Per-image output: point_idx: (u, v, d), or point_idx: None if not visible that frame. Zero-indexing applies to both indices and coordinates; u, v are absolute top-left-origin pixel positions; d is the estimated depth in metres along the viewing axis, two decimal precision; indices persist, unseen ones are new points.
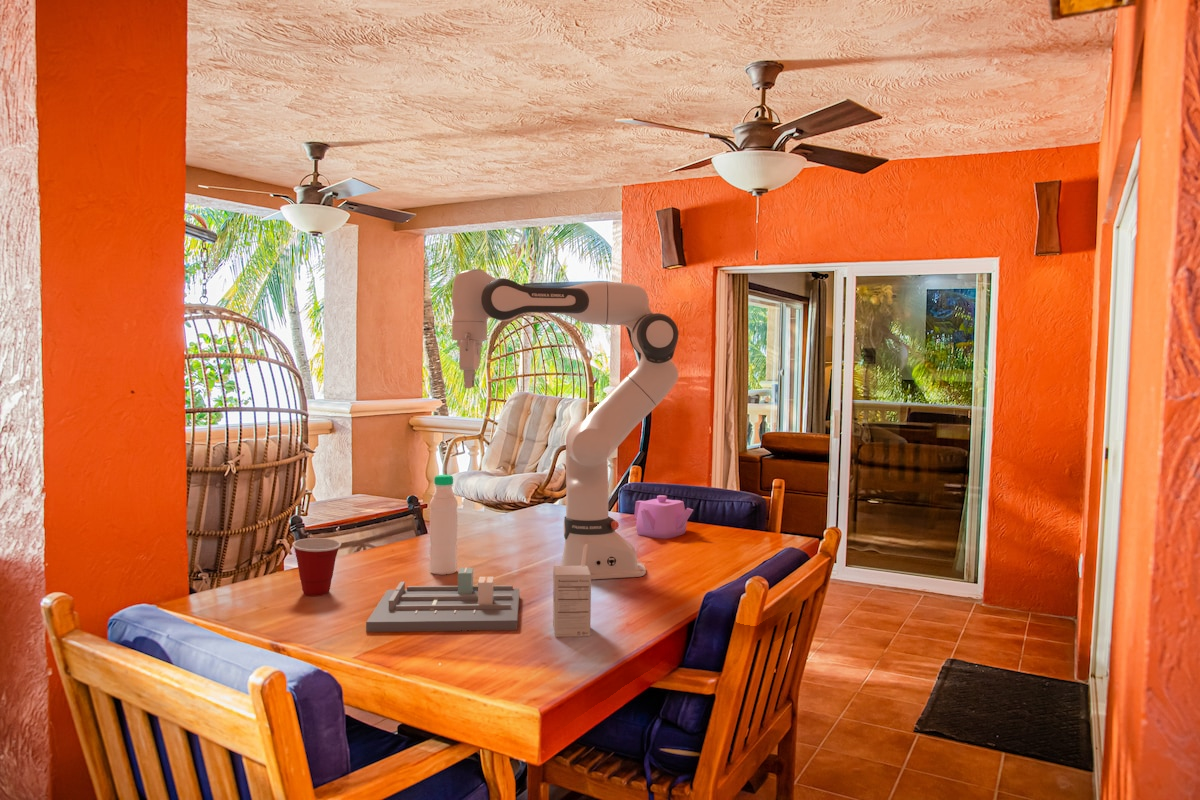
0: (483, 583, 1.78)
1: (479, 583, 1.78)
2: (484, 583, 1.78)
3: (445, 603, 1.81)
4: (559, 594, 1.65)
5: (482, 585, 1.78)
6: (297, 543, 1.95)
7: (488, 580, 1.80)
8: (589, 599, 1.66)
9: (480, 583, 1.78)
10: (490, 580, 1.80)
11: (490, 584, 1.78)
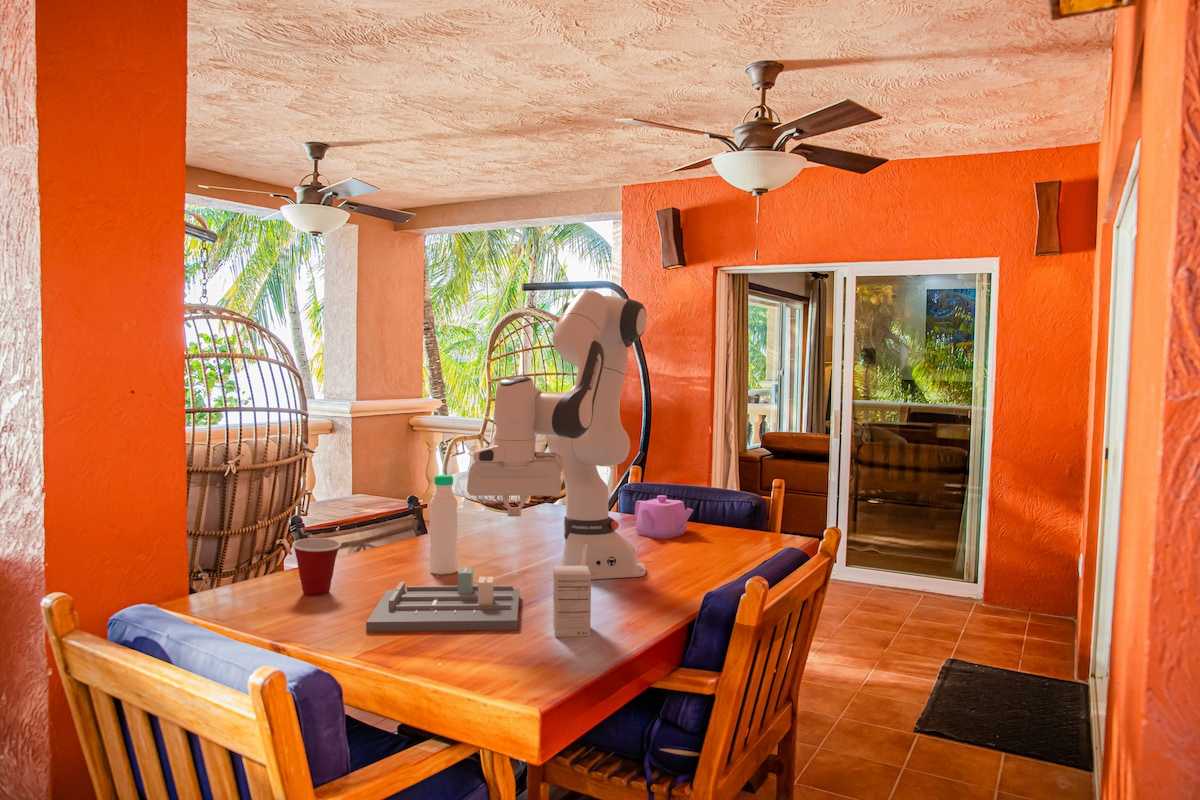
0: (483, 583, 1.78)
1: (479, 583, 1.78)
2: (484, 583, 1.78)
3: (445, 603, 1.81)
4: (559, 594, 1.65)
5: (482, 585, 1.78)
6: (297, 543, 1.95)
7: (488, 580, 1.80)
8: (589, 599, 1.66)
9: (480, 583, 1.78)
10: (490, 580, 1.80)
11: (490, 584, 1.78)
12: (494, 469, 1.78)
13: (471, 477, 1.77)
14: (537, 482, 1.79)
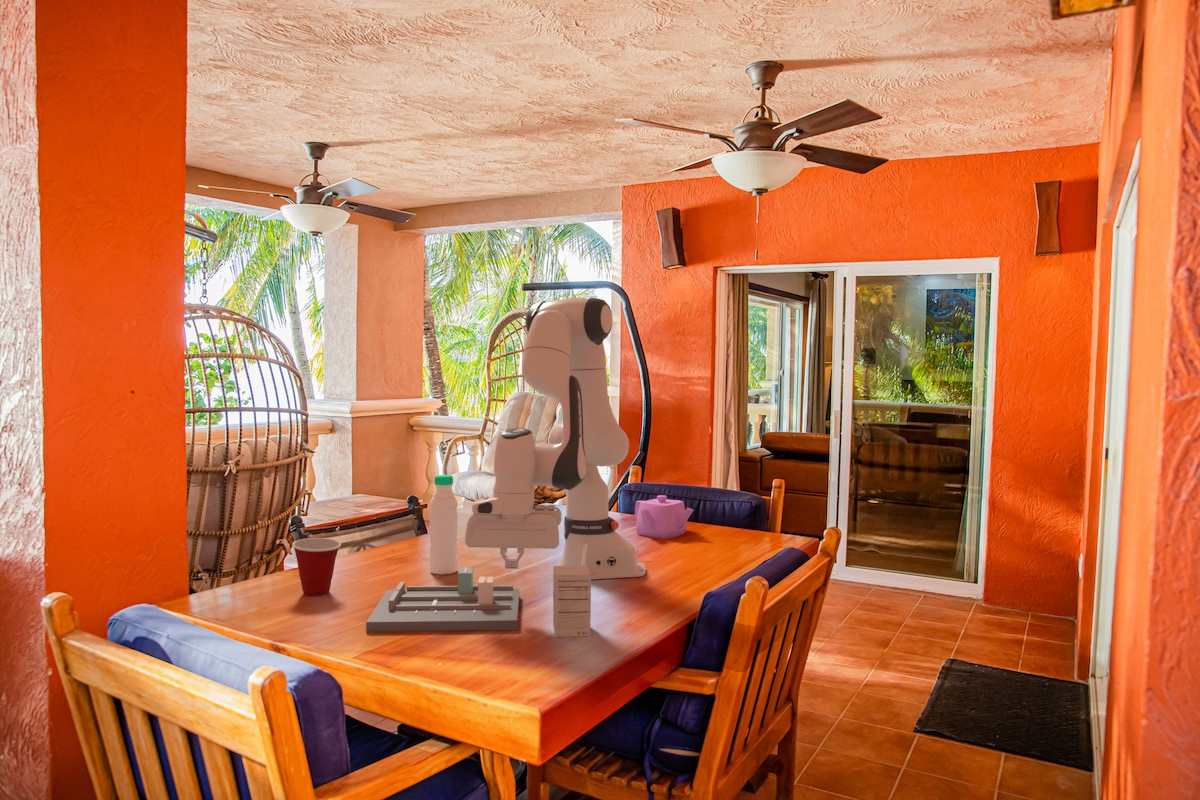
0: (483, 583, 1.78)
1: (479, 583, 1.78)
2: (484, 583, 1.78)
3: (445, 603, 1.81)
4: (559, 595, 1.65)
5: (482, 585, 1.78)
6: (297, 543, 1.95)
7: (488, 580, 1.80)
8: (589, 599, 1.66)
9: (480, 583, 1.78)
10: (490, 580, 1.80)
11: (490, 584, 1.78)
12: (492, 521, 1.78)
13: (469, 529, 1.78)
14: (535, 535, 1.79)
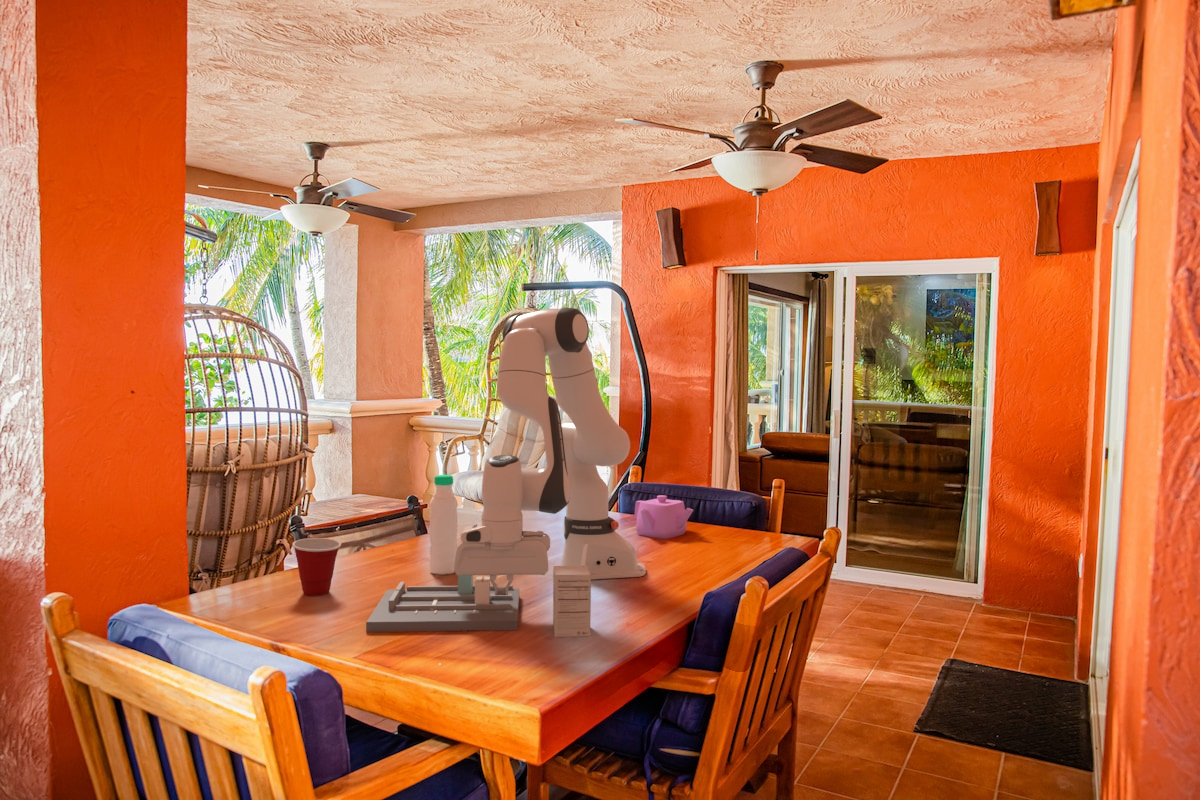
0: (480, 583, 1.78)
1: (476, 583, 1.78)
2: (481, 583, 1.78)
3: (445, 603, 1.81)
4: (559, 595, 1.65)
5: (479, 585, 1.78)
6: (297, 543, 1.95)
7: (485, 580, 1.80)
8: (589, 599, 1.66)
9: (477, 583, 1.78)
10: (487, 580, 1.80)
11: (487, 584, 1.78)
12: (481, 549, 1.78)
13: (458, 557, 1.78)
14: (524, 562, 1.79)
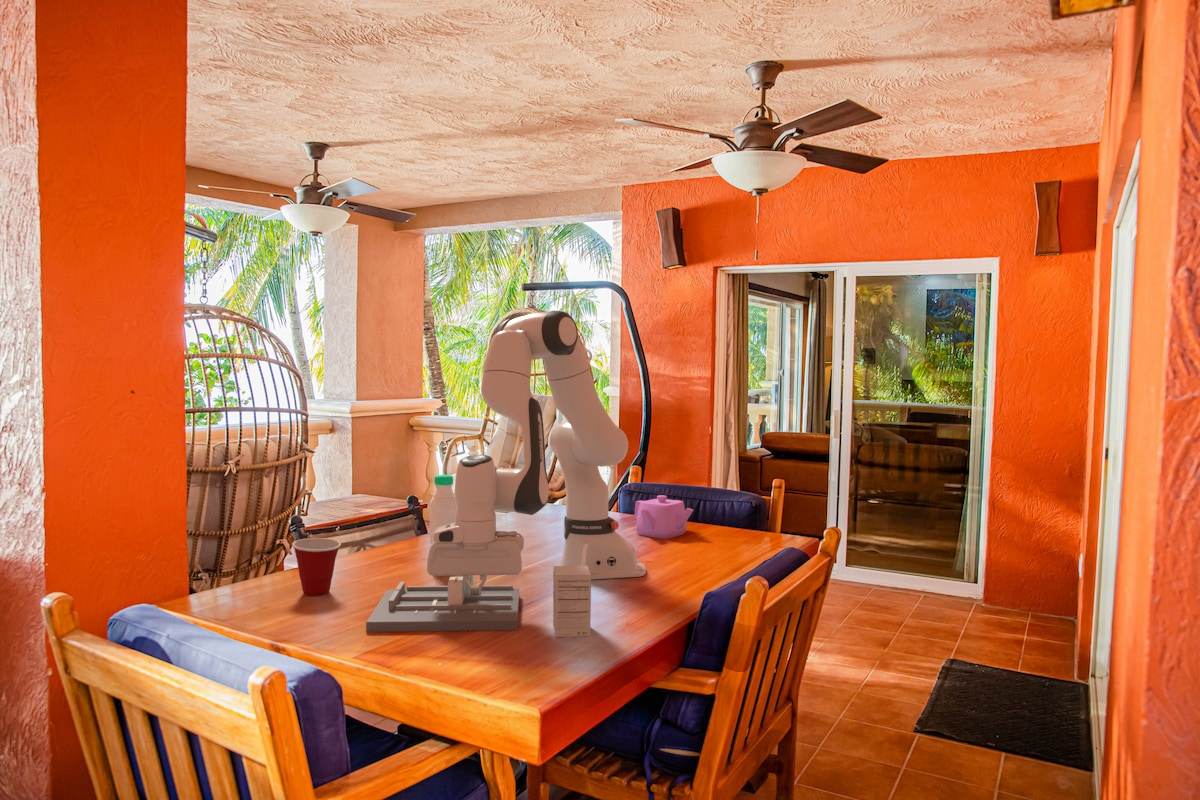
0: (453, 583, 1.78)
1: (449, 583, 1.78)
2: (454, 583, 1.78)
3: (445, 603, 1.81)
4: (559, 595, 1.65)
5: (452, 585, 1.78)
6: (297, 543, 1.95)
7: (458, 580, 1.80)
8: (589, 599, 1.66)
9: (450, 583, 1.78)
10: (460, 580, 1.80)
11: (460, 584, 1.78)
12: (454, 549, 1.78)
13: (431, 557, 1.77)
14: (497, 562, 1.79)
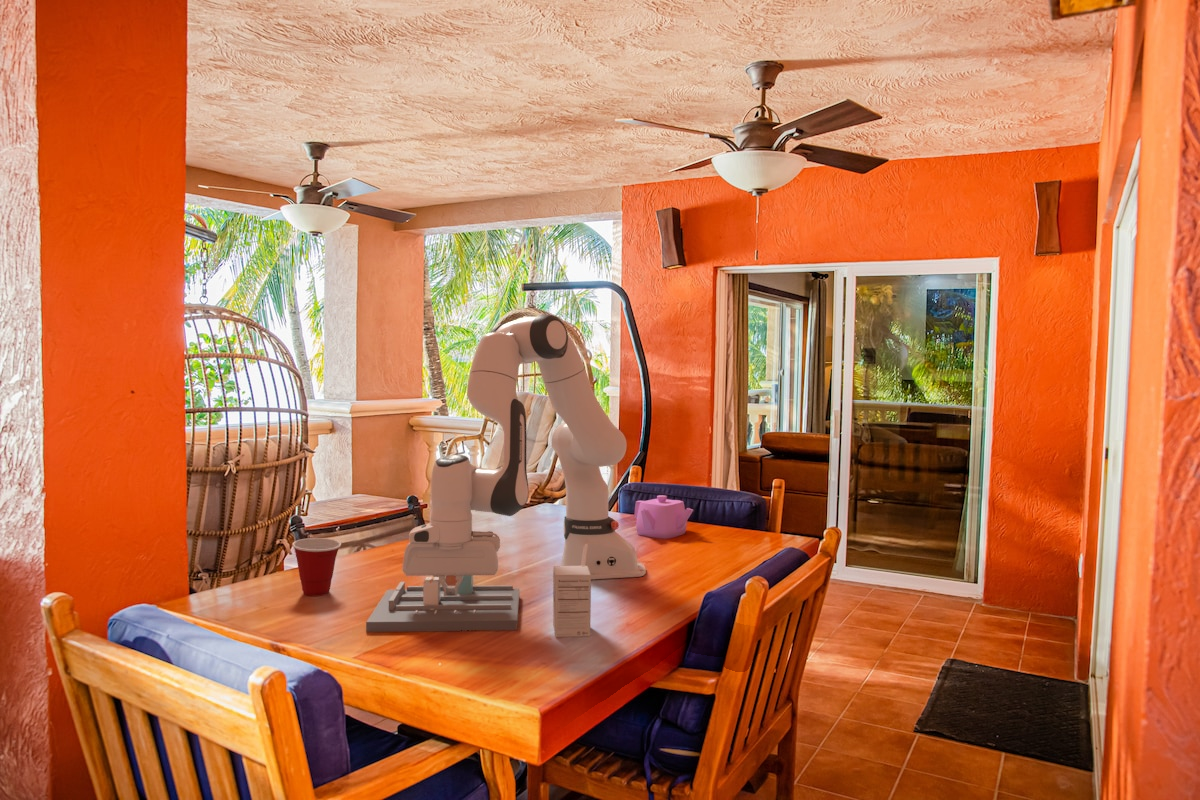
0: (428, 583, 1.78)
1: (424, 583, 1.77)
2: (429, 583, 1.78)
3: (445, 603, 1.81)
4: (559, 595, 1.65)
5: (427, 585, 1.77)
6: (297, 543, 1.95)
7: (434, 580, 1.79)
8: (589, 599, 1.66)
9: (425, 583, 1.77)
10: (436, 580, 1.79)
11: (435, 584, 1.78)
12: (429, 549, 1.78)
13: (406, 558, 1.77)
14: (473, 562, 1.79)
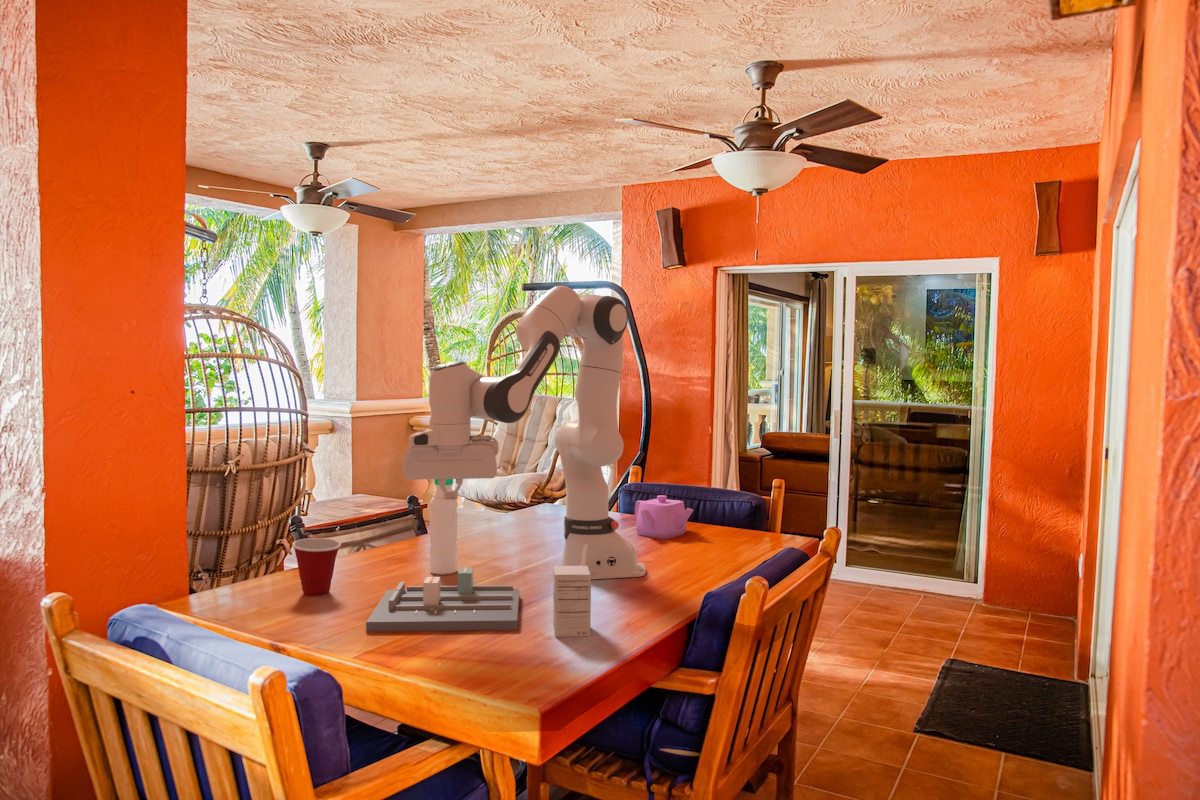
0: (428, 583, 1.78)
1: (424, 583, 1.77)
2: (429, 583, 1.78)
3: (445, 603, 1.81)
4: (559, 595, 1.65)
5: (427, 585, 1.77)
6: (297, 543, 1.95)
7: (434, 580, 1.79)
8: (589, 599, 1.66)
9: (425, 583, 1.77)
10: (436, 580, 1.79)
11: (435, 584, 1.78)
12: (429, 453, 1.80)
13: (406, 461, 1.80)
14: (472, 466, 1.81)
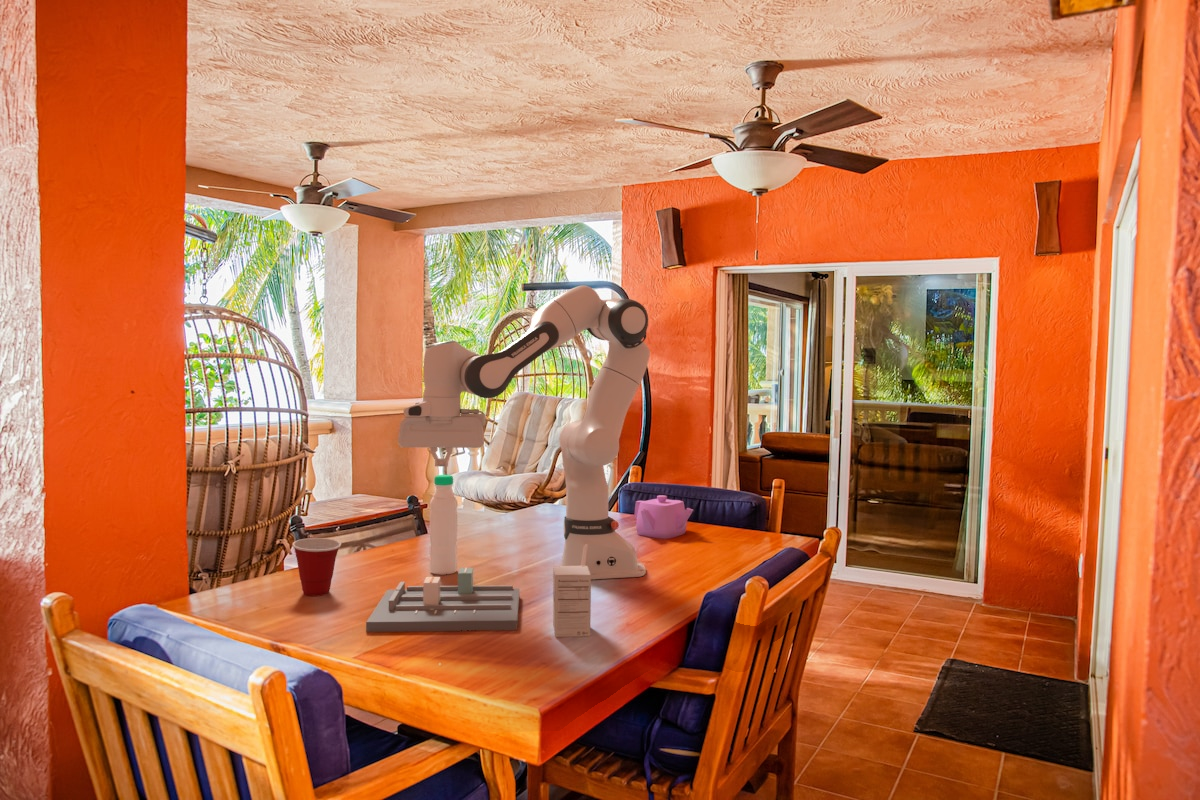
0: (428, 583, 1.78)
1: (424, 583, 1.77)
2: (429, 583, 1.78)
3: (445, 603, 1.81)
4: (559, 595, 1.65)
5: (427, 585, 1.77)
6: (297, 543, 1.95)
7: (434, 580, 1.79)
8: (589, 599, 1.66)
9: (425, 583, 1.77)
10: (436, 580, 1.79)
11: (435, 584, 1.78)
12: (422, 423, 1.98)
13: (401, 430, 1.98)
14: (461, 436, 1.99)
